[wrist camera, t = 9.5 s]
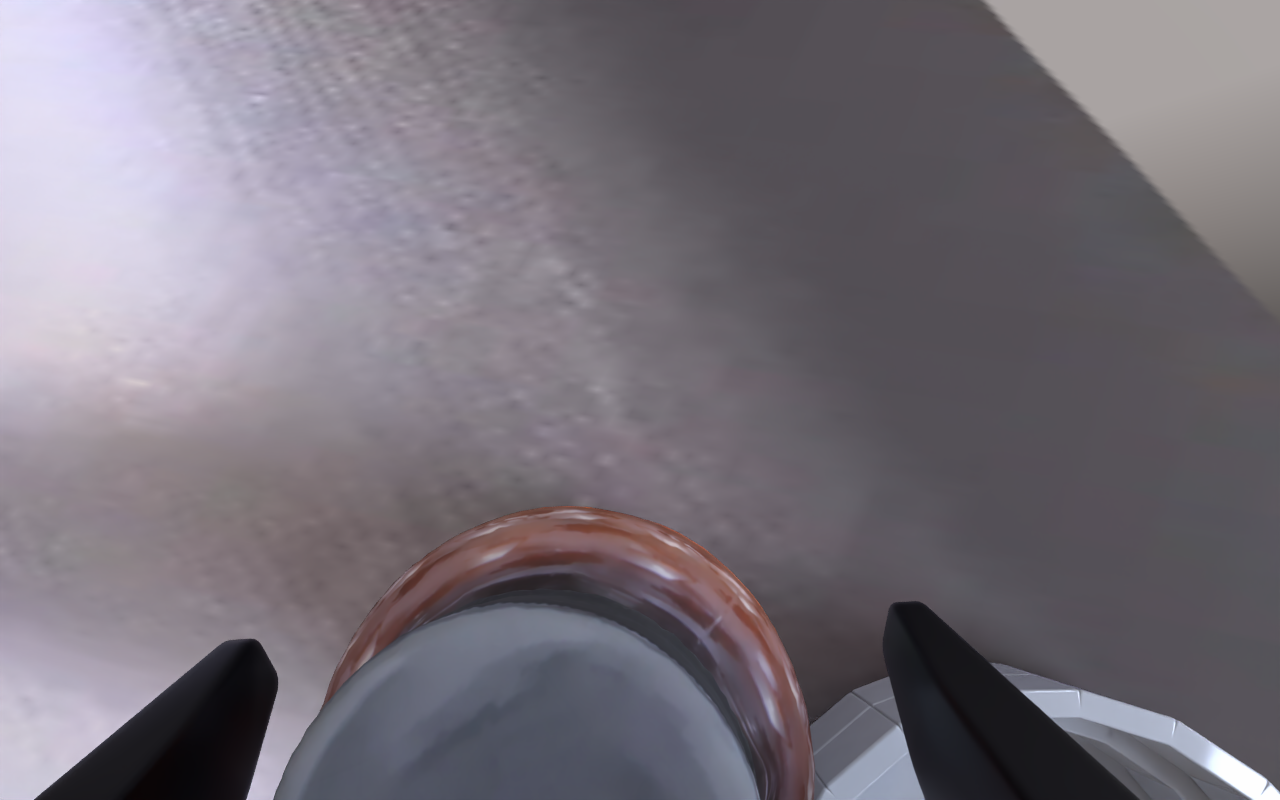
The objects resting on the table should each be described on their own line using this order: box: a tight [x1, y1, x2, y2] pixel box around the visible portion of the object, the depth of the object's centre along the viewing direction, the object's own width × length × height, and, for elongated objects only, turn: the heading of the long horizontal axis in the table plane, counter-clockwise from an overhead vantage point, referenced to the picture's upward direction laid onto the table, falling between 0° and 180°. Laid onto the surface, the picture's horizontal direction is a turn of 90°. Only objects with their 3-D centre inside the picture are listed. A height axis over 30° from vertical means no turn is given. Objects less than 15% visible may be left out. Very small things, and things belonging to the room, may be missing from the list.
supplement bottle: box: [273, 506, 815, 800], centre depth 10 cm, size 6×6×11 cm
